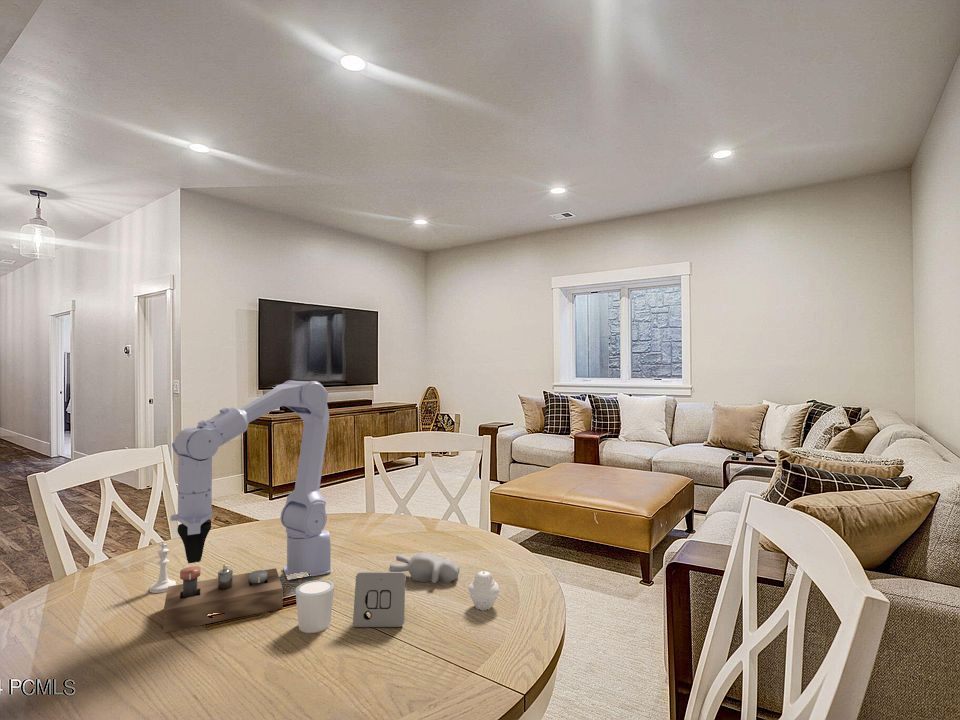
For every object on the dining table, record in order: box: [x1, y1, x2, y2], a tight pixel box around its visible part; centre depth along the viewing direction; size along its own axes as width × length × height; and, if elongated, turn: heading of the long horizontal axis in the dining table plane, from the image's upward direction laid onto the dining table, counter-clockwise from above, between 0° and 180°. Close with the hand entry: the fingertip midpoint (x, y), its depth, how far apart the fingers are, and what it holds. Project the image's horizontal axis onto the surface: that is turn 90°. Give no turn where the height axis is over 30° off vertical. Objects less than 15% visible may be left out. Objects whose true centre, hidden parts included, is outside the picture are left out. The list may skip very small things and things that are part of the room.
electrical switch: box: [352, 571, 407, 628], centre depth 97 cm, size 9×5×9 cm, turn 90°
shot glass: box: [294, 579, 335, 634], centre depth 95 cm, size 7×7×7 cm
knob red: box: [179, 566, 201, 598], centre depth 99 cm, size 3×4×5 cm
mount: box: [162, 568, 284, 634], centre depth 102 cm, size 20×11×4 cm, turn 118°
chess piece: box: [149, 540, 177, 594], centre depth 111 cm, size 5×5×10 cm
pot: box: [217, 564, 233, 590], centre depth 102 cm, size 3×3×4 cm
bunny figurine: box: [388, 551, 461, 584], centre depth 116 cm, size 10×5×15 cm
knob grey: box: [249, 569, 267, 586], centre depth 104 cm, size 3×4×5 cm
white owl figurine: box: [467, 570, 500, 611], centre depth 102 cm, size 6×6×7 cm
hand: (194, 561), depth 99 cm, fingers closed
